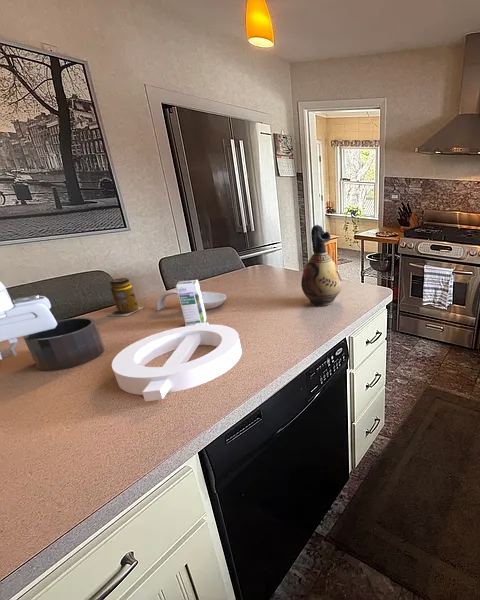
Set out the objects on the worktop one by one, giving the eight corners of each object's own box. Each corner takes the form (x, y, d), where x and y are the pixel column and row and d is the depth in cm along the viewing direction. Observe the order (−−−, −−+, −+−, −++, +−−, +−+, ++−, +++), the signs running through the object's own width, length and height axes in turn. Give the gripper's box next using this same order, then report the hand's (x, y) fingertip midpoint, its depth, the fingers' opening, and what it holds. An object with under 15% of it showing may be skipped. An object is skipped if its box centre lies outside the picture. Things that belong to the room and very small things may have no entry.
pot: (41, 377, 81) (26, 345, 78) (33, 359, 88) (20, 329, 85) (111, 355, 91) (100, 326, 88) (98, 340, 99) (88, 313, 95)
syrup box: (185, 327, 108) (174, 285, 103) (188, 320, 113) (178, 280, 108) (205, 324, 110) (195, 283, 105) (207, 317, 115) (198, 278, 110)
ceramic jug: (349, 304, 128) (345, 227, 118) (311, 312, 120) (303, 230, 109) (332, 292, 141) (327, 222, 131) (296, 298, 133) (288, 224, 122)
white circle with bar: (206, 330, 105) (203, 317, 104) (262, 353, 92) (260, 338, 90) (97, 372, 83) (91, 356, 81) (151, 410, 70) (145, 392, 68)
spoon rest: (231, 300, 131) (228, 283, 128) (222, 311, 120) (218, 293, 118) (167, 303, 127) (162, 286, 125) (151, 315, 116) (145, 297, 114)
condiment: (144, 307, 124) (135, 277, 119) (128, 316, 116) (117, 284, 112) (125, 307, 123) (115, 277, 119) (107, 316, 116) (96, 284, 111)
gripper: (44, 290, 85) (63, 337, 90) (-92, 315, 69) (-59, 370, 74) (48, 295, 81) (68, 344, 86) (-94, 322, 66) (-60, 380, 71)
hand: (8, 356), depth 80 cm, fingers closed
